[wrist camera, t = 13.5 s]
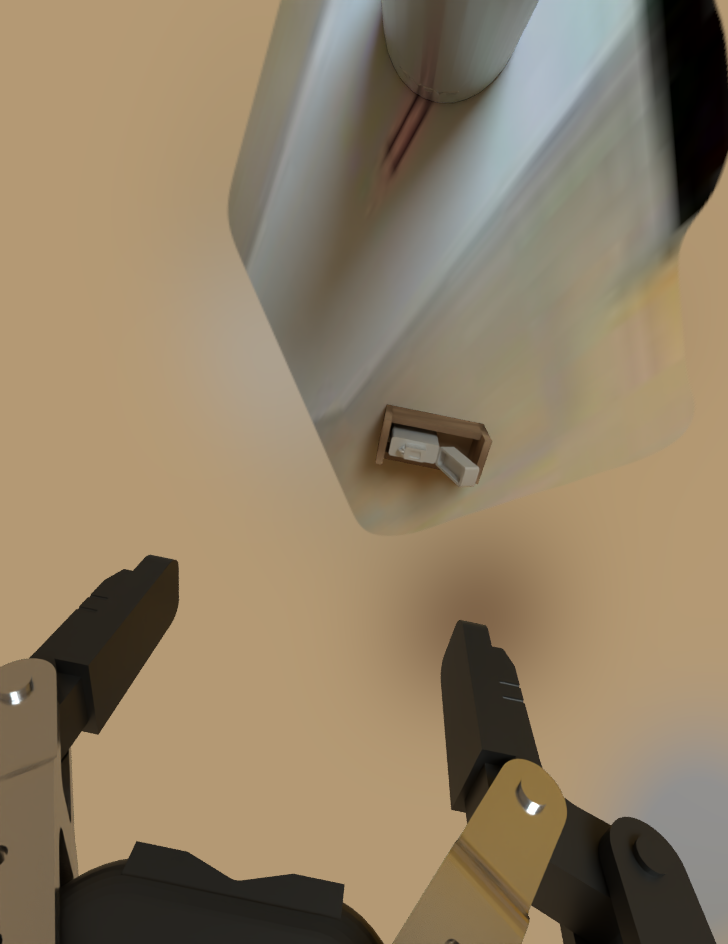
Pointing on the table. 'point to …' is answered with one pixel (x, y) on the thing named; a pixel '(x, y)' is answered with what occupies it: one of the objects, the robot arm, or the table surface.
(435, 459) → the lighter
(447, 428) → the open wooden box
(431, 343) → the table surface
